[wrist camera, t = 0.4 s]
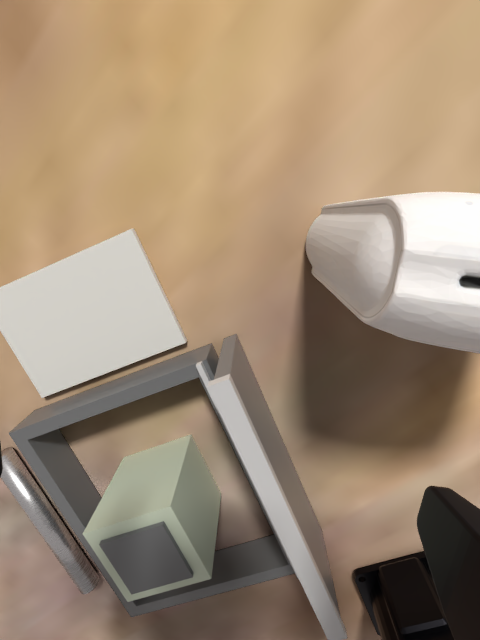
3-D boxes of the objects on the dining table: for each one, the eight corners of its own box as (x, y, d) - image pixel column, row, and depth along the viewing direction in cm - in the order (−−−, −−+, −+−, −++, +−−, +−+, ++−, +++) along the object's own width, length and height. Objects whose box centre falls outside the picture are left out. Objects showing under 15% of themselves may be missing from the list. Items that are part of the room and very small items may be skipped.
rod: (102, 572, 27) (94, 591, 25) (86, 577, 27) (77, 596, 26) (16, 444, 24) (2, 458, 22) (-1, 450, 24) (-16, 464, 23)
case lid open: (324, 532, 25) (347, 638, 19) (302, 538, 25) (318, 645, 19) (236, 330, 21) (229, 378, 15) (211, 339, 21) (194, 391, 15)
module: (221, 492, 24) (210, 583, 18) (156, 513, 25) (126, 606, 19) (191, 433, 23) (169, 510, 17) (123, 457, 24) (80, 538, 18)
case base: (300, 536, 25) (305, 576, 22) (142, 581, 27) (129, 623, 24) (211, 343, 21) (205, 362, 18) (34, 410, 23) (3, 437, 20)
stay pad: (187, 340, 21) (185, 342, 21) (45, 394, 23) (41, 397, 22) (133, 228, 19) (131, 228, 19) (-16, 295, 21) (-21, 296, 21)
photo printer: (506, 218, 19) (948, 223, 7) (482, 297, 20) (820, 420, 8) (311, 196, 19) (410, 165, 7) (299, 277, 20) (364, 368, 8)
